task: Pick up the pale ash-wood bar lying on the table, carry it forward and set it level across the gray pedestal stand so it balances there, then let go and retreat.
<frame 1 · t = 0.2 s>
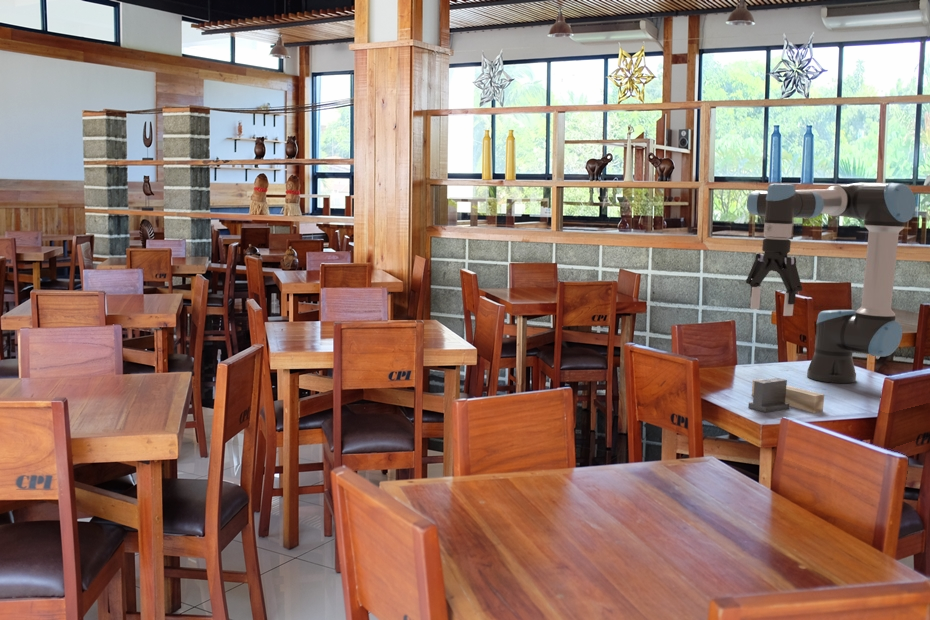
hand: (770, 312, 261), 26 cm above the table, fingers open, 13 cm apart
gray pedestal stand: (768, 408, 258), on the table
ash bar: (786, 404, 265), on the table
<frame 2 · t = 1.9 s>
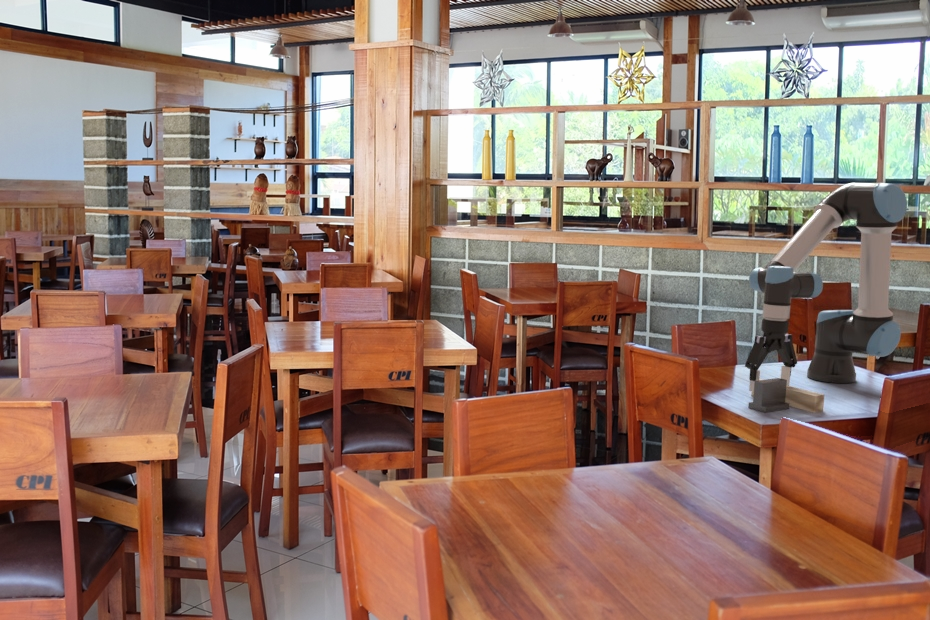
hand: (769, 389, 269), 3 cm above the table, fingers open, 13 cm apart
nothing on the table moved.
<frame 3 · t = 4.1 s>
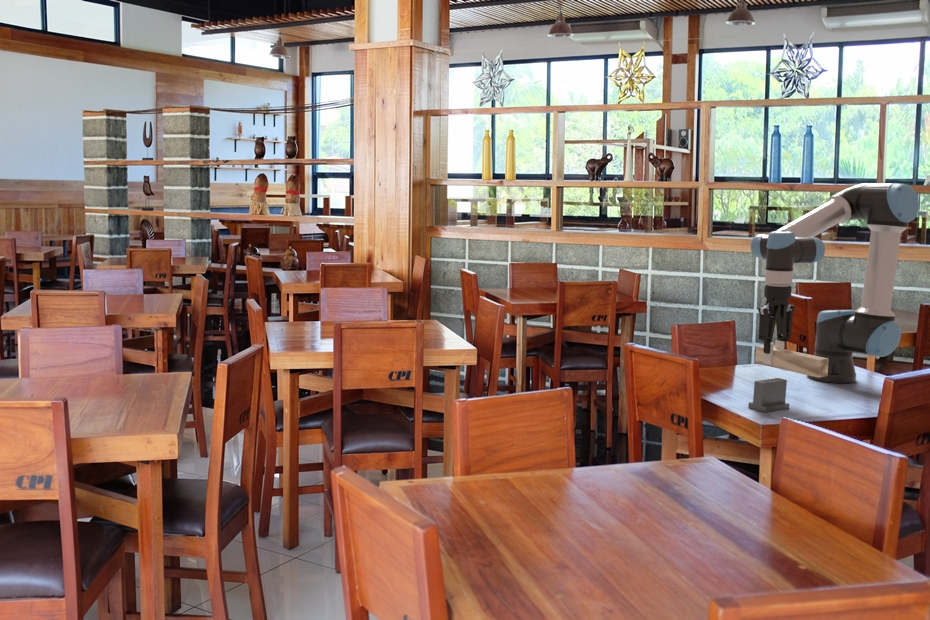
hand: (773, 363, 268), 11 cm above the table, fingers closed on ash bar, 4 cm apart
ash bar: (790, 369, 263), point 10 cm above the table, touching gripper
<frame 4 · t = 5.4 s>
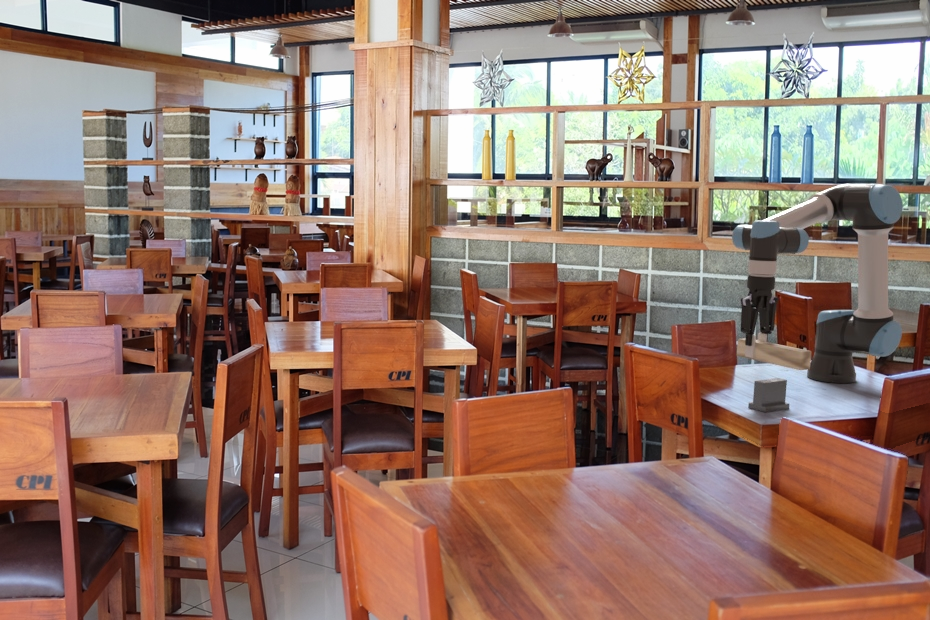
hand: (755, 356, 261), 14 cm above the table, fingers closed on ash bar, 4 cm apart
ash bar: (772, 362, 256), point 13 cm above the table, touching gripper
when the fingers open (7 cm above the table, at t = 6.8 s): ash bar stays where it is, resting on gray pedestal stand.
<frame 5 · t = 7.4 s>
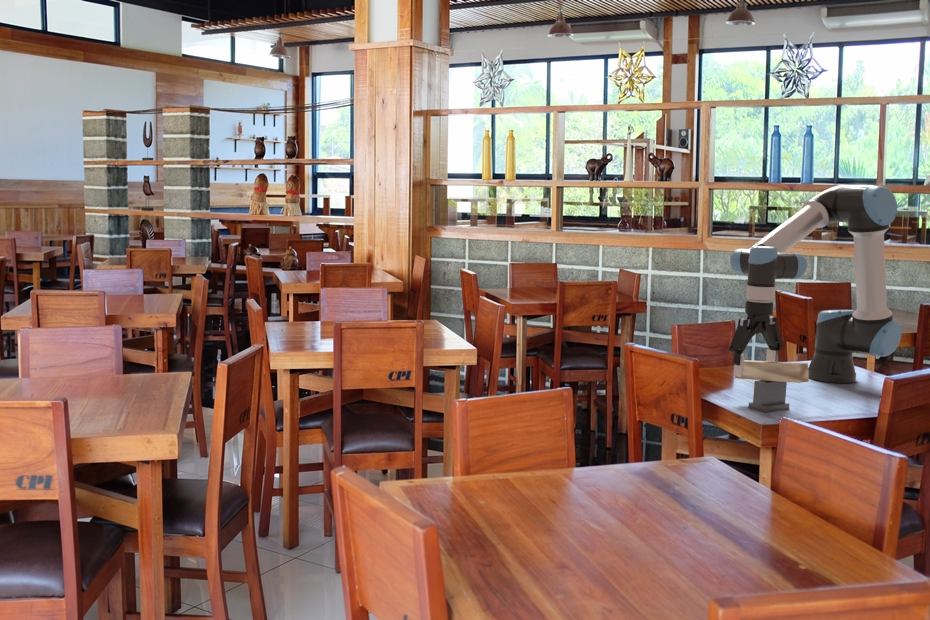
hand: (754, 374, 261), 9 cm above the table, fingers open, 13 cm apart
ash bar: (770, 379, 256), point 8 cm above the table, tilted 8°, touching gray pedestal stand
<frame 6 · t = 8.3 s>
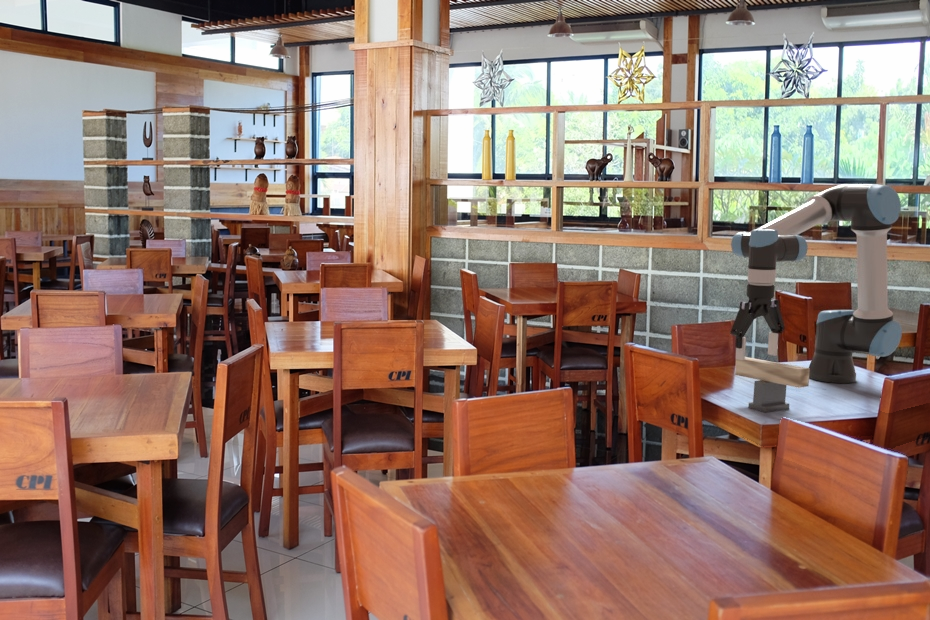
hand: (756, 357, 261), 14 cm above the table, fingers open, 13 cm apart
ash bar: (770, 380, 256), point 8 cm above the table, touching gray pedestal stand
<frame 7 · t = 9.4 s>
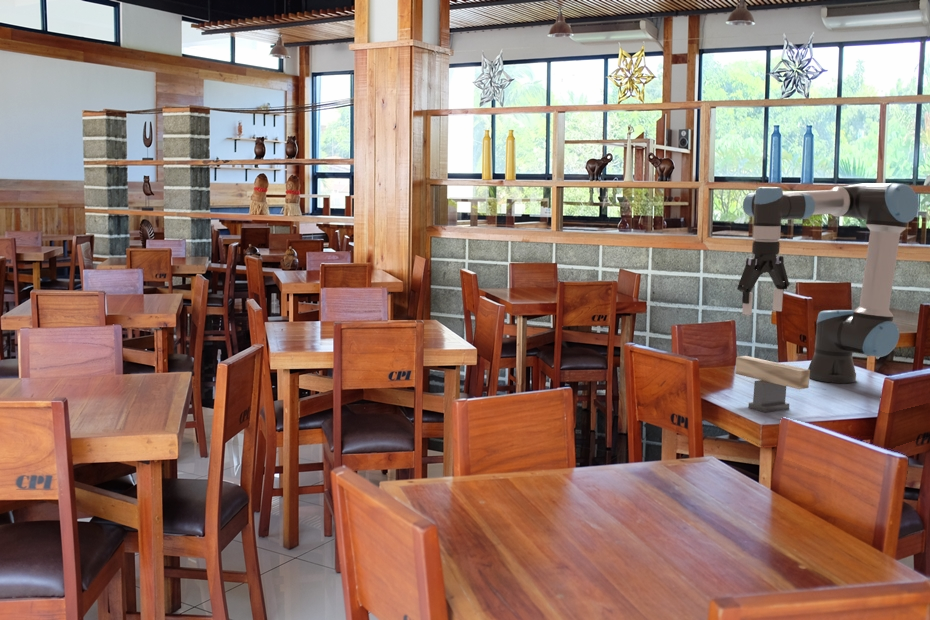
hand: (762, 312, 267), 25 cm above the table, fingers open, 13 cm apart
nothing on the table moved.
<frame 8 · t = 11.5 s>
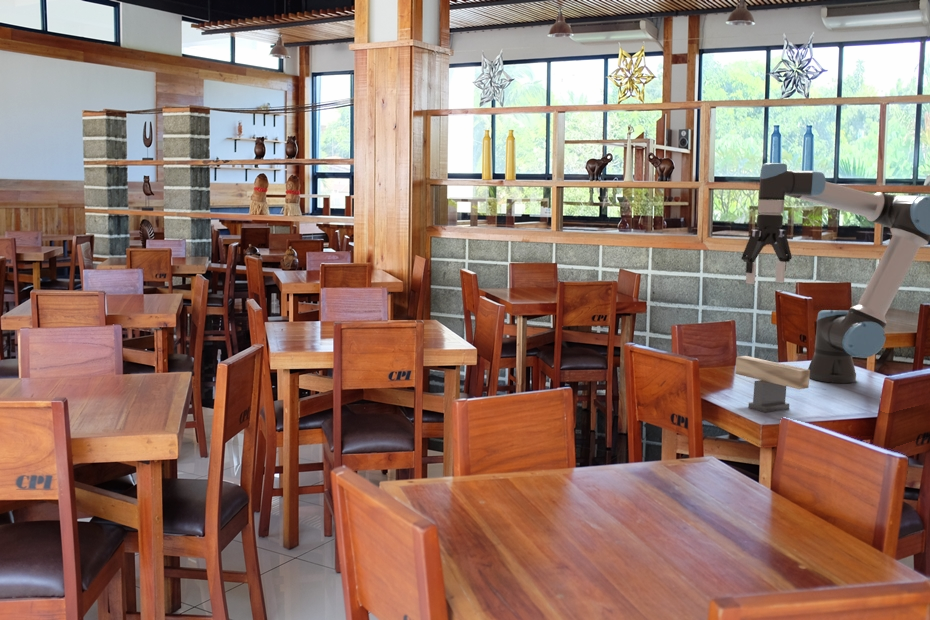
hand: (765, 283, 281), 33 cm above the table, fingers open, 13 cm apart
nothing on the table moved.
at the end: ash bar 0.1 cm off-centre on the gray pedestal stand, point 8.0 cm above the gray pedestal stand's base; ash bar tilted 0°; ash bar touching gray pedestal stand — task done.
